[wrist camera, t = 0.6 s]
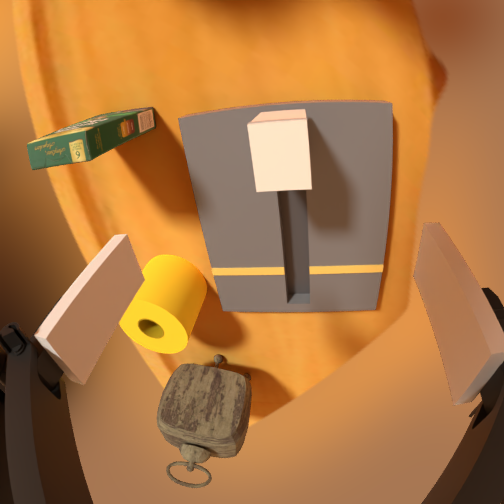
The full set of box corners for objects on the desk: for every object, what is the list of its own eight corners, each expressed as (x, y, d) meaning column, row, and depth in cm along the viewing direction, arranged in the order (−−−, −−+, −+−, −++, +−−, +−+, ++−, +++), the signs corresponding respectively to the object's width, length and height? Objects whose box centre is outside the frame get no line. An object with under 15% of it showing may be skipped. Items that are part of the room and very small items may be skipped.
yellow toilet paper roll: (172, 242, 39) (143, 287, 31) (221, 292, 43) (203, 342, 35) (133, 273, 44) (104, 315, 36) (177, 314, 47) (157, 359, 39)
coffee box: (157, 104, 29) (84, 129, 18) (159, 128, 30) (89, 164, 20) (100, 112, 30) (23, 143, 19) (103, 134, 32) (29, 172, 21)
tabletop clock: (185, 366, 56) (147, 477, 35) (180, 339, 51) (131, 465, 30) (256, 379, 55) (233, 499, 34) (260, 353, 49) (233, 492, 29)
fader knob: (263, 108, 27) (246, 124, 19) (305, 105, 26) (307, 119, 18) (269, 156, 30) (255, 192, 22) (309, 153, 29) (312, 189, 21)
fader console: (186, 114, 29) (177, 118, 27) (385, 100, 25) (392, 103, 23) (226, 299, 43) (222, 312, 41) (372, 297, 39) (375, 310, 37)
